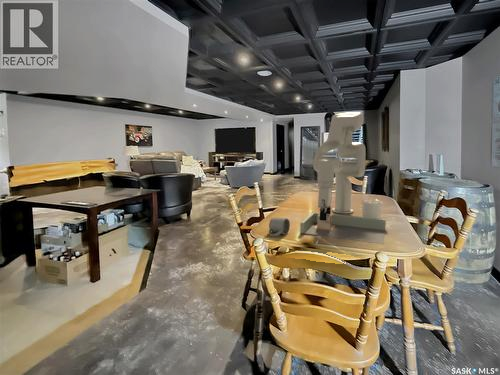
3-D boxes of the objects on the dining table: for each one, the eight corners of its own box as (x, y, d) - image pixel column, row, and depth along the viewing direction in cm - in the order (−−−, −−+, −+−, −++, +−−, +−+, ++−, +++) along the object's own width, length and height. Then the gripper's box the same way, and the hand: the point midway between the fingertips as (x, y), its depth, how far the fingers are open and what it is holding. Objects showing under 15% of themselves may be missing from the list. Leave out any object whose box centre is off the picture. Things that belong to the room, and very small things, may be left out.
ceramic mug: (275, 229, 140) (275, 214, 138) (290, 232, 135) (290, 216, 134) (264, 235, 131) (264, 220, 130) (280, 238, 127) (279, 222, 125)
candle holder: (380, 221, 150) (381, 200, 148) (382, 226, 141) (383, 203, 139) (360, 220, 154) (361, 199, 152) (361, 225, 144) (362, 202, 143)
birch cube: (319, 224, 144) (320, 213, 144) (331, 225, 142) (332, 214, 141) (317, 227, 139) (317, 216, 138) (329, 229, 136) (329, 217, 136)
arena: (312, 221, 152) (312, 212, 151) (385, 230, 135) (385, 219, 135) (300, 233, 133) (300, 222, 132) (383, 245, 116) (384, 232, 115)
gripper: (322, 181, 146) (321, 212, 149) (313, 186, 131) (313, 221, 134) (336, 182, 143) (335, 214, 146) (329, 187, 128) (329, 223, 131)
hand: (325, 217), depth 140 cm, fingers open, 9 cm apart
